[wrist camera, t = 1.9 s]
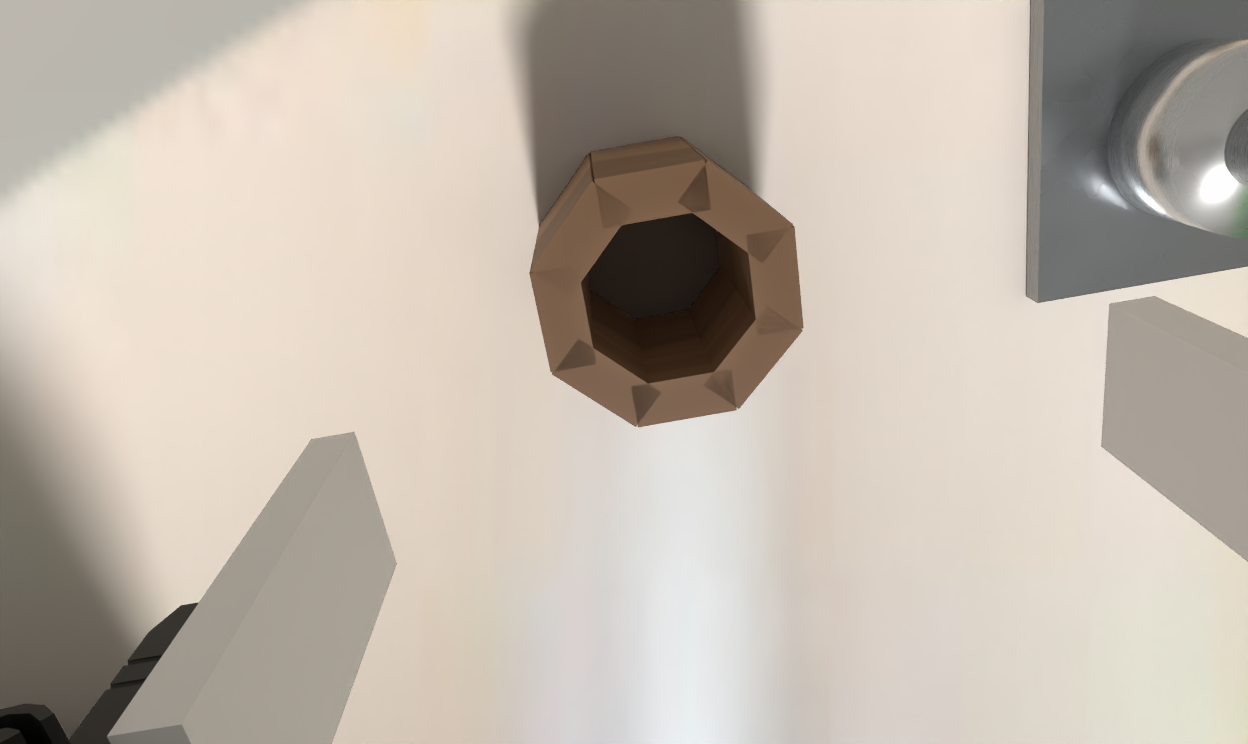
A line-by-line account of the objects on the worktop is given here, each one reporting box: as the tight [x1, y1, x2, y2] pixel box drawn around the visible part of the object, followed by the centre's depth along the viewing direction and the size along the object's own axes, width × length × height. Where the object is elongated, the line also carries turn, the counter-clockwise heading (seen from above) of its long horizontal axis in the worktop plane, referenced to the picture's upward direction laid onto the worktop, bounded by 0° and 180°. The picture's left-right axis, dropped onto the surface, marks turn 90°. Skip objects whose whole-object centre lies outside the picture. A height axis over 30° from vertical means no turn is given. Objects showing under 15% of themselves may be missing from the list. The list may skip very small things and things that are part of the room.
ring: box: [530, 137, 803, 427], centre depth 26 cm, size 7×7×6 cm
